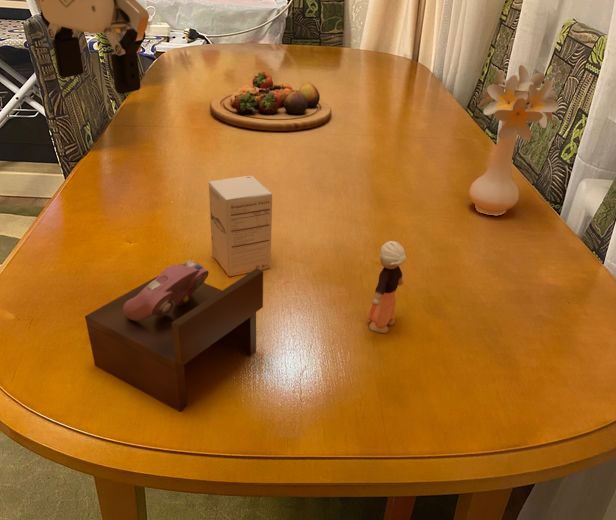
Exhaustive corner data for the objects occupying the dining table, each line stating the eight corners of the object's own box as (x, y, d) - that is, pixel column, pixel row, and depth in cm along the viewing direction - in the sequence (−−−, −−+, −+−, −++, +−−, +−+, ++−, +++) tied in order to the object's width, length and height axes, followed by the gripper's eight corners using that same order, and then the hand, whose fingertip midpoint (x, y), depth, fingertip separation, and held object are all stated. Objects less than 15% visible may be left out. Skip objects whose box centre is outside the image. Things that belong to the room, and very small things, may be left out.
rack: (94, 365, 74) (76, 278, 66) (175, 314, 83) (167, 233, 76) (187, 415, 67) (178, 326, 60) (262, 354, 77) (263, 270, 70)
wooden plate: (220, 93, 173) (219, 62, 168) (331, 101, 173) (333, 70, 168) (199, 128, 147) (197, 92, 142) (330, 136, 147) (333, 101, 142)
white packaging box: (210, 256, 97) (207, 180, 89) (253, 248, 100) (253, 173, 92) (227, 278, 92) (225, 199, 84) (272, 269, 94) (273, 191, 87)
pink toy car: (145, 341, 69) (161, 303, 64) (117, 314, 69) (130, 274, 64) (202, 302, 75) (220, 266, 70) (175, 278, 76) (192, 240, 71)
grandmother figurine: (374, 309, 87) (386, 228, 79) (400, 315, 86) (415, 234, 78) (358, 337, 81) (369, 253, 73) (386, 344, 80) (400, 260, 72)
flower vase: (464, 230, 109) (498, 83, 94) (452, 190, 124) (480, 58, 109) (537, 236, 109) (582, 89, 94) (516, 195, 124) (552, 63, 109)
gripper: (-14, -106, 61) (24, 75, 72) (102, -95, 54) (126, 104, 64) (49, -103, 67) (76, 65, 77) (163, -93, 59) (176, 92, 70)
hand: (99, 83), depth 71 cm, fingers open, 9 cm apart
